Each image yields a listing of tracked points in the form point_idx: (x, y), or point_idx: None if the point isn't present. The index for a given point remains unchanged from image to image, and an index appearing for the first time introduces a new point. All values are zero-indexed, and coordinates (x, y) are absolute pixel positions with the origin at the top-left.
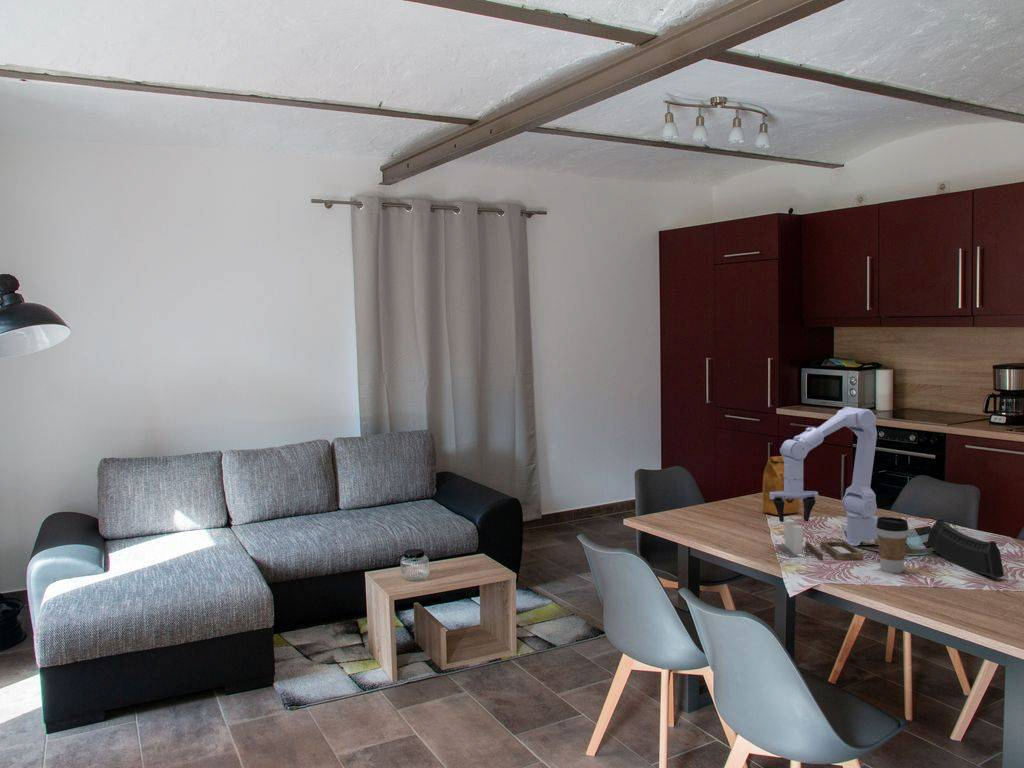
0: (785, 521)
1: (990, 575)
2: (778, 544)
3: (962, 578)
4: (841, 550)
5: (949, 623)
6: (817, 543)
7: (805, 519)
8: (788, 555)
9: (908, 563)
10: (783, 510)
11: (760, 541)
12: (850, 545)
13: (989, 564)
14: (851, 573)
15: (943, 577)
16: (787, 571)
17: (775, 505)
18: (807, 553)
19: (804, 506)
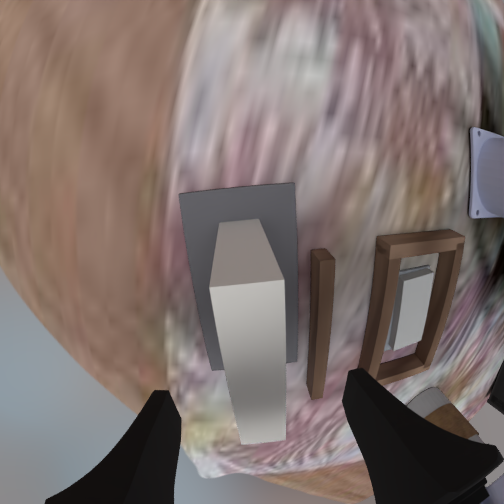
0: (213, 300)
1: (489, 398)
2: (191, 196)
3: (469, 400)
4: (409, 323)
5: (340, 500)
6: (388, 159)
7: (347, 403)
8: (210, 361)
9: (473, 353)
10: (173, 498)
11: (118, 126)
12: (452, 291)
13: (497, 405)
14: (334, 440)
15: (455, 406)
16: (192, 446)
17: (93, 484)
18: (291, 334)
19: (396, 455)
